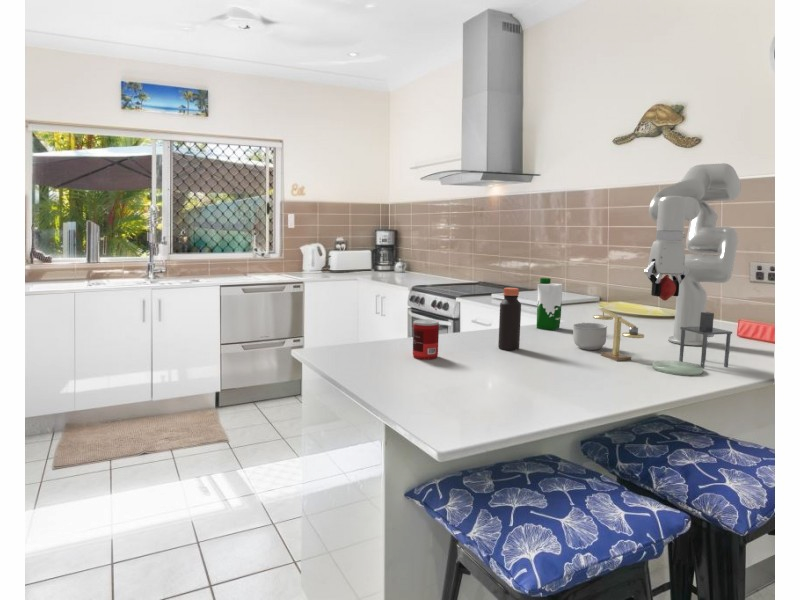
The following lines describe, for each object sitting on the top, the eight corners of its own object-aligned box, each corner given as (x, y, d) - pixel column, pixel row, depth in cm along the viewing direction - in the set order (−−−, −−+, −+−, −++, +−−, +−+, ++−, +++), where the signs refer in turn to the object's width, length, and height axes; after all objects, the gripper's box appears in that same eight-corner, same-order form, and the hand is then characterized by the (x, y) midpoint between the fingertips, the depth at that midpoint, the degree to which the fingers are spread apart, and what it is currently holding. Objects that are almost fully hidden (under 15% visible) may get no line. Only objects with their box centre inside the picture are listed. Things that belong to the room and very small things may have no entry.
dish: (679, 363, 170) (679, 359, 170) (713, 374, 157) (714, 370, 157) (642, 365, 166) (642, 361, 166) (675, 376, 154) (675, 372, 154)
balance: (587, 351, 185) (590, 307, 183) (603, 350, 187) (606, 306, 185) (629, 366, 165) (632, 316, 163) (646, 365, 167) (650, 316, 165)
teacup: (608, 352, 184) (609, 328, 183) (573, 350, 186) (574, 326, 185) (601, 344, 197) (603, 321, 196) (569, 342, 199) (570, 320, 198)
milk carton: (540, 325, 233) (543, 277, 231) (562, 328, 229) (565, 278, 226) (533, 328, 226) (535, 278, 224) (555, 331, 221) (558, 280, 219)
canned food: (440, 355, 175) (441, 320, 174) (433, 360, 167) (434, 324, 166) (417, 353, 177) (418, 318, 176) (409, 358, 170) (409, 322, 169)
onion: (666, 302, 171) (668, 275, 170) (650, 299, 176) (652, 274, 175) (679, 301, 173) (681, 275, 172) (662, 299, 178) (664, 273, 177)
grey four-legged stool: (703, 359, 175) (708, 310, 173) (729, 367, 166) (733, 314, 164) (677, 361, 173) (681, 310, 171) (702, 368, 163) (706, 315, 161)
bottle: (498, 346, 191) (501, 287, 188) (519, 347, 189) (521, 287, 187) (497, 350, 184) (500, 289, 181) (519, 351, 183) (522, 289, 180)
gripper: (683, 237, 178) (679, 294, 180) (637, 236, 174) (632, 294, 176) (702, 237, 171) (697, 297, 173) (653, 236, 166) (649, 297, 169)
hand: (664, 295), depth 174 cm, fingers closed on onion, 6 cm apart
